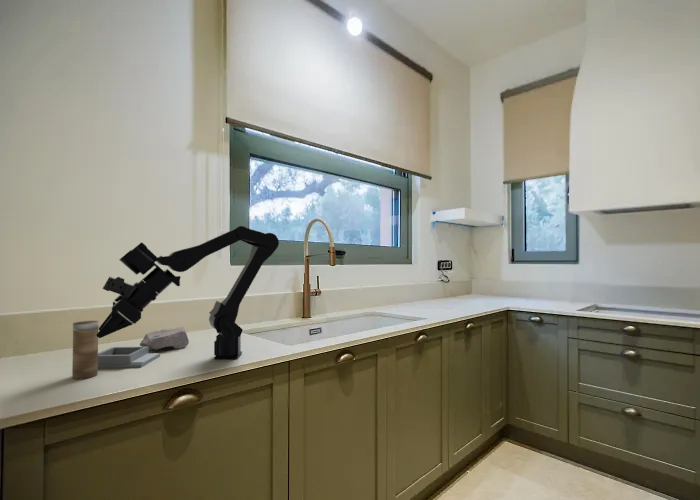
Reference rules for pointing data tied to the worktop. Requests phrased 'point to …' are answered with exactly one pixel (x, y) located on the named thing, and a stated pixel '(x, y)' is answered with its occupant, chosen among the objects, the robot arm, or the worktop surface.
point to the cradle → (125, 357)
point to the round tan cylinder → (85, 349)
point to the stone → (166, 339)
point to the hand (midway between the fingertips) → (98, 333)
